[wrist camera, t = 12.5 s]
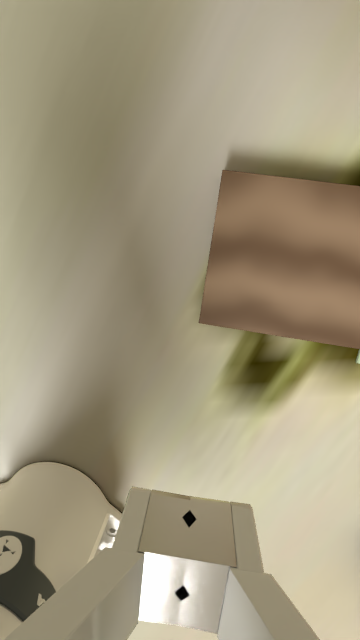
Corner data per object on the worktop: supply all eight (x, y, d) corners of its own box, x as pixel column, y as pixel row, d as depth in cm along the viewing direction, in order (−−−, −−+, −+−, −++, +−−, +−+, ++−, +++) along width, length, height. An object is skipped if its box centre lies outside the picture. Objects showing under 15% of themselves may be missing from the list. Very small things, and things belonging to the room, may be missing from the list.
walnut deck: (356, 343, 31) (365, 349, 29) (199, 318, 32) (198, 323, 30) (401, 196, 27) (415, 192, 25) (222, 174, 28) (222, 169, 26)
